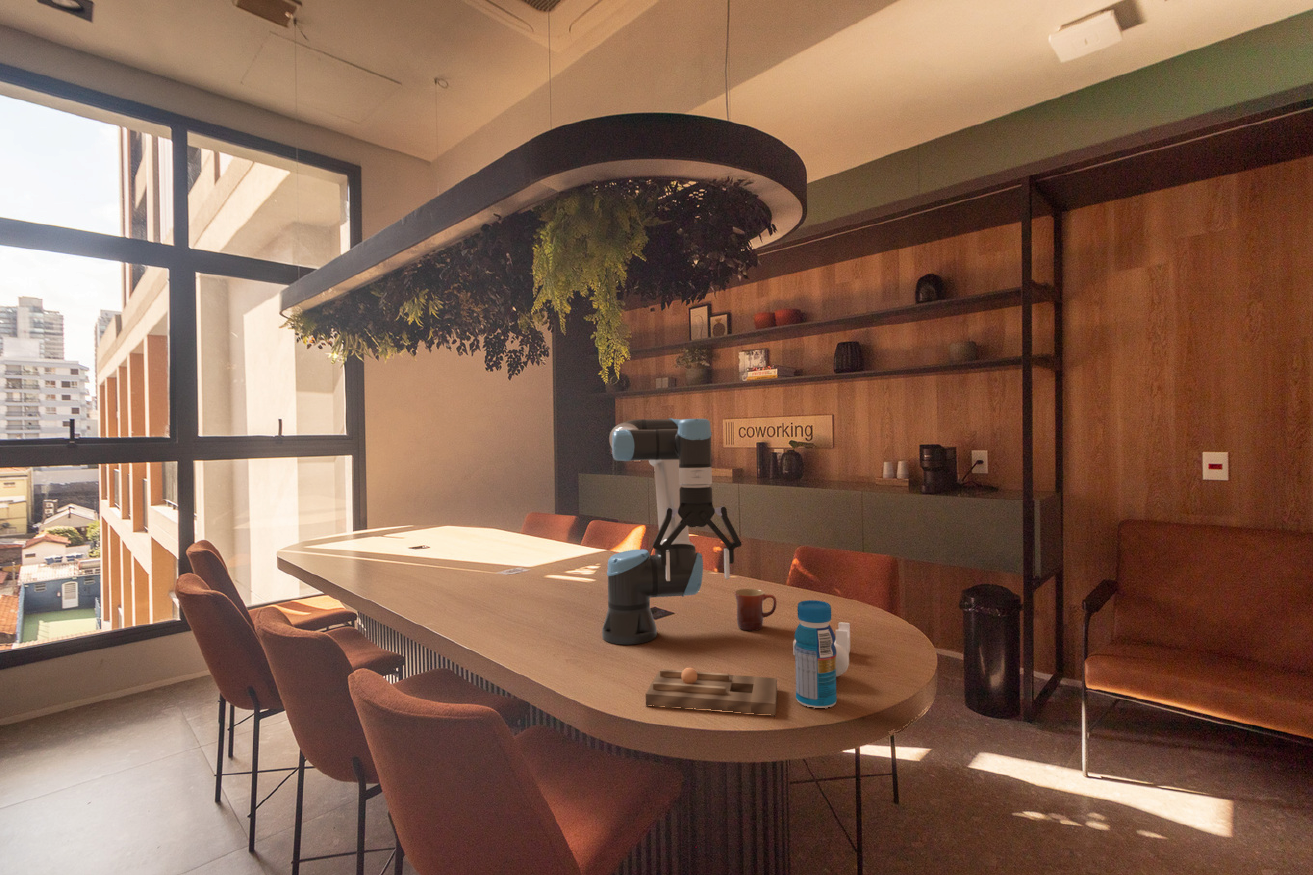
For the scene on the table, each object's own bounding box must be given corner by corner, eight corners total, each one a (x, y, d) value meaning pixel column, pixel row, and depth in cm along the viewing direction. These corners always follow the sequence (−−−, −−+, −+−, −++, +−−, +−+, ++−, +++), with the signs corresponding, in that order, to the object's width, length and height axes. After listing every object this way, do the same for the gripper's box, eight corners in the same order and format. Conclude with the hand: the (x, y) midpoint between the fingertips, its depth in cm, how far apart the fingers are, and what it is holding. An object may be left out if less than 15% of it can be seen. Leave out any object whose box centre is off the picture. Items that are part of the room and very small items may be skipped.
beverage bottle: (792, 706, 122) (790, 607, 122) (798, 690, 130) (796, 597, 130) (835, 712, 119) (833, 611, 119) (839, 695, 127) (837, 600, 127)
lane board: (645, 706, 124) (645, 687, 124) (659, 681, 136) (659, 664, 136) (775, 716, 118) (775, 697, 118) (777, 689, 130) (776, 672, 131)
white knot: (847, 671, 140) (846, 632, 140) (852, 692, 128) (851, 650, 129) (797, 668, 143) (796, 630, 143) (797, 688, 131) (796, 647, 131)
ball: (680, 686, 127) (679, 670, 127) (683, 680, 130) (682, 664, 130) (696, 687, 126) (695, 671, 126) (698, 681, 129) (698, 665, 129)
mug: (735, 632, 170) (734, 596, 170) (734, 623, 178) (733, 588, 178) (778, 633, 169) (777, 596, 169) (775, 623, 177) (774, 588, 177)
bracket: (850, 653, 153) (849, 623, 153) (847, 662, 146) (846, 631, 146) (798, 647, 158) (797, 618, 158) (793, 656, 151) (792, 626, 151)
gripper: (641, 488, 134) (643, 584, 134) (752, 485, 136) (755, 580, 135) (640, 486, 142) (642, 576, 141) (746, 483, 143) (748, 573, 143)
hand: (697, 578), depth 138 cm, fingers open, 13 cm apart
